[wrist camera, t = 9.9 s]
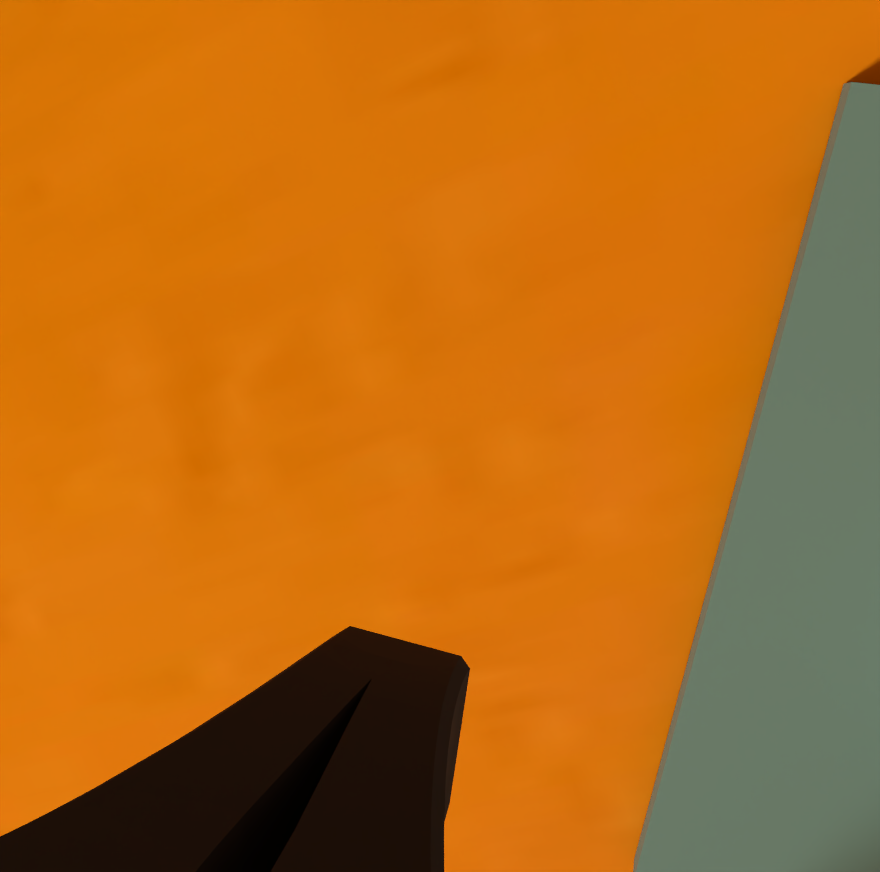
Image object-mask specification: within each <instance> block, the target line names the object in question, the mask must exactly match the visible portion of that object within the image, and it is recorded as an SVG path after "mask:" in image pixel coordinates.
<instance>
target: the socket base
mask: <svg viewBox="0 0 880 872" xmlns="http://www.w3.org/2000/svg"><path fill="white" fill-rule="evenodd" d="M633 872H880V85H876V84H866V83H857V82H849V83H845V84H844V85H843V88H842V92H841V96H840V100H839V103H838V107H837V111H836V114H835V118H834V122H833V126H832V129H831V133H830V137H829V140H828V144H827V148H826V151H825V155H824V159H823V163H822V166H821V170H820V174H819V177H818V181H817V185H816V188H815V192H814V196H813V200H812V203H811V207H810V211H809V214H808V218H807V222H806V225H805V229H804V233H803V237H802V240H801V244H800V248H799V251H798V255H797V259H796V263H795V266H794V270H793V274H792V277H791V281H790V285H789V288H788V292H787V296H786V300H785V303H784V307H783V311H782V314H781V318H780V322H779V325H778V329H777V333H776V337H775V340H774V344H773V348H772V351H771V355H770V359H769V362H768V366H767V370H766V374H765V377H764V381H763V385H762V388H761V392H760V396H759V400H758V403H757V407H756V411H755V414H754V418H753V422H752V425H751V429H750V433H749V437H748V440H747V444H746V448H745V451H744V455H743V459H742V462H741V466H740V470H739V474H738V477H737V481H736V485H735V488H734V492H733V496H732V499H731V503H730V507H729V511H728V514H727V518H726V522H725V525H724V529H723V533H722V537H721V540H720V544H719V548H718V551H717V555H716V559H715V562H714V566H713V570H712V574H711V577H710V581H709V585H708V588H707V592H706V596H705V599H704V603H703V607H702V611H701V614H700V618H699V622H698V625H697V629H696V633H695V636H694V640H693V644H692V648H691V651H690V655H689V659H688V662H687V666H686V670H685V674H684V677H683V681H682V685H681V688H680V692H679V696H678V699H677V703H676V707H675V711H674V714H673V718H672V722H671V725H670V729H669V733H668V736H667V740H666V744H665V748H664V751H663V755H662V759H661V762H660V766H659V770H658V773H657V777H656V781H655V785H654V788H653V792H652V796H651V799H650V803H649V807H648V811H647V814H646V818H645V822H644V825H643V829H642V833H641V836H640V840H639V844H638V848H637V851H636V855H635V859H634V870H633Z"/></svg>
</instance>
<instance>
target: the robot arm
mask: <svg viewBox="0 0 880 872" xmlns="http://www.w3.org/2000/svg"><path fill="white" fill-rule="evenodd" d="M469 671H470V668H469V667H468V665H467V664H466V662H465V661H464V660H463V658H462V657H461V656H459V655H455V654H451V653H448V652H444V651H440V650H437V649H433V648H429V647H426V646H422V645H418V644H414V643H411V642H407V641H403V640H400V639H396V638H392V637H388V636H385V635H381V634H377V633H374V632H370V631H366V630H363V629H359V628H355V627H351V626H349V627H348V628H346V629H344V630H343V631H341V632H339V633H338V634H336V635H335V636H333V637H332V638H330V639H329V640H327V641H326V642H324V643H323V644H321V645H320V646H319V647H317V648H316V649H314V650H313V651H311V652H310V653H308V654H307V655H306V656H304V657H303V658H301V659H300V660H298V661H297V662H295V663H294V664H292V665H291V666H290V667H288V668H287V669H285V670H284V671H282V672H281V673H279V674H278V675H276V676H275V677H273V678H272V679H271V680H269V681H268V682H266V683H265V684H263V685H262V686H260V687H259V688H257V689H256V690H254V691H253V692H251V693H250V694H248V695H247V696H245V697H244V698H242V699H241V700H239V701H237V702H236V703H234V704H233V705H231V706H230V707H228V708H227V709H225V710H223V711H222V712H220V713H219V714H217V715H216V716H214V717H213V718H211V719H210V720H208V721H206V722H205V723H203V724H202V725H200V726H199V727H197V728H196V729H194V730H192V731H191V732H189V733H188V734H186V735H184V736H183V737H181V738H180V739H178V740H176V741H175V742H173V743H171V744H170V745H168V746H166V747H165V748H163V749H161V750H159V751H158V752H156V753H154V754H152V755H151V756H149V757H147V758H146V759H144V760H142V761H140V762H139V763H137V764H135V765H134V766H132V767H130V768H128V769H127V770H125V771H123V772H121V773H120V774H118V775H116V776H115V777H113V778H111V779H109V780H108V781H106V782H104V783H103V784H101V785H99V786H97V787H96V788H94V789H92V790H90V791H88V792H86V793H85V794H83V795H81V796H79V797H77V798H75V799H73V800H72V801H70V802H68V803H66V804H64V805H62V806H60V807H58V808H57V809H55V810H53V811H51V812H49V813H47V814H45V815H43V816H41V817H39V818H37V819H35V820H33V821H31V822H29V823H27V824H25V825H23V826H21V827H19V828H17V829H15V830H13V831H11V832H9V833H7V834H5V835H3V836H1V837H0V872H444V821H445V817H446V814H447V810H448V806H449V803H450V796H451V790H452V783H453V776H454V770H455V763H456V757H457V750H458V743H459V737H460V730H461V724H462V717H463V710H464V704H465V697H466V691H467V684H468V677H469Z"/></svg>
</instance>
